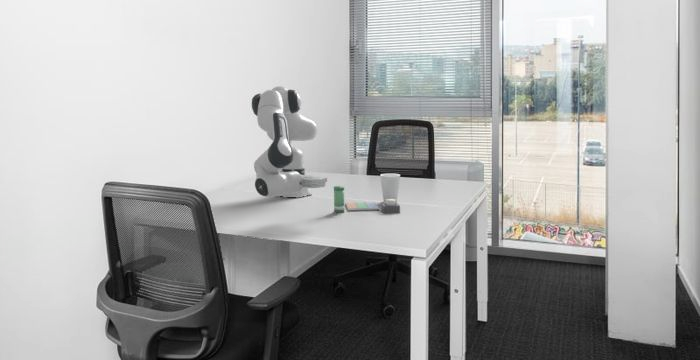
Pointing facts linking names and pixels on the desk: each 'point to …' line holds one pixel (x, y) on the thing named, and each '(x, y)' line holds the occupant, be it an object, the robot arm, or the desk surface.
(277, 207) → the desk surface
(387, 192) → the translucent tapered cup
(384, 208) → the button collar
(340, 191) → the green canister
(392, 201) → the button
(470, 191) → the desk surface
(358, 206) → the picture board
